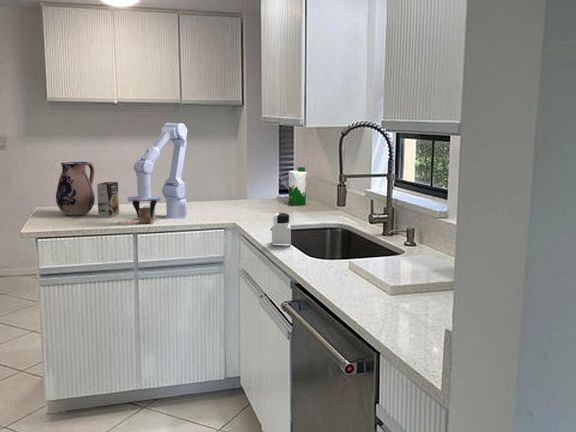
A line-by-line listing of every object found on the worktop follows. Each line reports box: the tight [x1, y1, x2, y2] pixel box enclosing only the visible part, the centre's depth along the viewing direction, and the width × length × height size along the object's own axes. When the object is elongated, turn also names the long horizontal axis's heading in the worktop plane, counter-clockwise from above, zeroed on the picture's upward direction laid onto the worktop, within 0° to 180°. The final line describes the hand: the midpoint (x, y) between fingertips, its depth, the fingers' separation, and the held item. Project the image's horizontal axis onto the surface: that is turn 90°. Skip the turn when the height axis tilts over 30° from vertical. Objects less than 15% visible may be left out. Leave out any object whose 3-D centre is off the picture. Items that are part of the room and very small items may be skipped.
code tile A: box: [115, 220, 138, 226], centre depth 265 cm, size 8×8×1 cm
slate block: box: [141, 205, 156, 220], centre depth 272 cm, size 5×5×6 cm
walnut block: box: [138, 207, 152, 223], centre depth 264 cm, size 5×5×6 cm
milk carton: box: [288, 166, 308, 207], centre depth 316 cm, size 9×9×20 cm
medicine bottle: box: [271, 212, 292, 245], centre depth 227 cm, size 7×7×12 cm
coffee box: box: [96, 181, 120, 219], centre depth 279 cm, size 9×6×16 cm
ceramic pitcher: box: [55, 161, 96, 217], centre depth 285 cm, size 18×21×25 cm
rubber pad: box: [135, 221, 155, 226], centre depth 265 cm, size 7×7×1 cm
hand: (145, 217), depth 264 cm, fingers closed on walnut block, 5 cm apart
